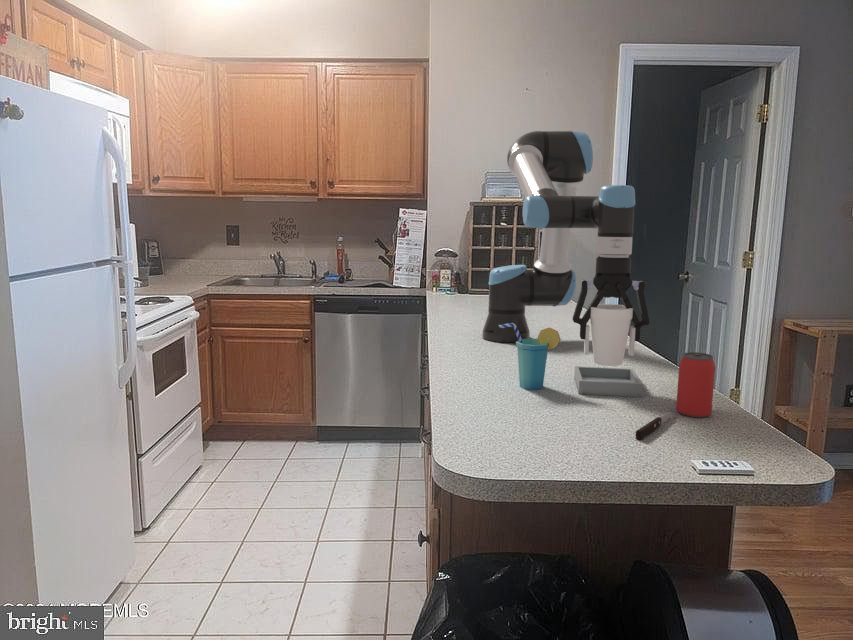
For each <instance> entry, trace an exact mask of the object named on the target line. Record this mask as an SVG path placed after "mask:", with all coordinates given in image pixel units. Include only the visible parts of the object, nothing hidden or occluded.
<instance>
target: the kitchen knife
mask: <svg viewBox="0 0 853 640" xmlns="http://www.w3.org/2000/svg"><path fill="white" fill-rule="evenodd" d="M673 414H674V412H673V411H668V412H665V413H664V414H662V415H661V416H659V417H655V418H654V419H653V420H651V421H649V422H648V423H646V424H645V425H643V426H641V427H640V428H638V429H637V430H635V439H636V441H642V440H643V439H644V438H645V437H646V436H649V435H651V434H652V433H654V432H655V431H656V430H657V429H658V428H659V427H660V425H662V424H663V423H665V422H666V421H668V420H669V419H670V418H671V417H672V415H673Z"/></svg>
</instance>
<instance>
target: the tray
mask: <svg viewBox="0 0 853 640" xmlns="http://www.w3.org/2000/svg"><path fill="white" fill-rule="evenodd" d="M573 375H574V376H573V377H574V378H573V379H574V382H575V385H576V389H577V394H578V395H592V396H593V395H595V396H609V397H611V396H613V397H629V398H630V397H631V398H632V397H634V398H643V393H644V392H643V391H644V383H643V381H642V380H641V378H640V377H639V376H638V374H637V373H636V371H635V370H634V369H633V368H623V367H620V368H619V367H601V366H580V365H578V366H576V365H574V374H573Z"/></svg>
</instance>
